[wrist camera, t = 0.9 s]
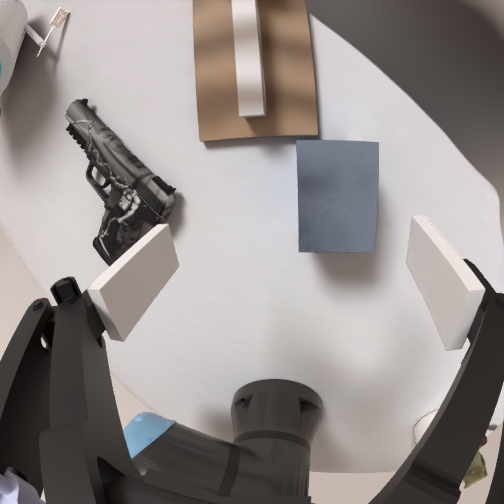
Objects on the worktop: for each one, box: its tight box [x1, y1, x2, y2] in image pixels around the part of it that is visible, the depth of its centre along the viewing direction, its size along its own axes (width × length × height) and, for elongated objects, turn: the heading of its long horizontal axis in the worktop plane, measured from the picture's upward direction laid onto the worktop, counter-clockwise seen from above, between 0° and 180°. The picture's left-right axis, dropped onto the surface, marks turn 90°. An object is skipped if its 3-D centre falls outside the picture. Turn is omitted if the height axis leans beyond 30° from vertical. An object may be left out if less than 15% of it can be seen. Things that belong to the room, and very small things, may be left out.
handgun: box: [65, 99, 176, 267], centre depth 31 cm, size 20×3×14 cm
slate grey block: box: [296, 140, 379, 252], centre depth 25 cm, size 9×6×8 cm
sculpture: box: [463, 435, 487, 488], centre depth 37 cm, size 10×8×15 cm
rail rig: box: [193, 0, 318, 142], centre depth 21 cm, size 20×12×6 cm, turn 3°
